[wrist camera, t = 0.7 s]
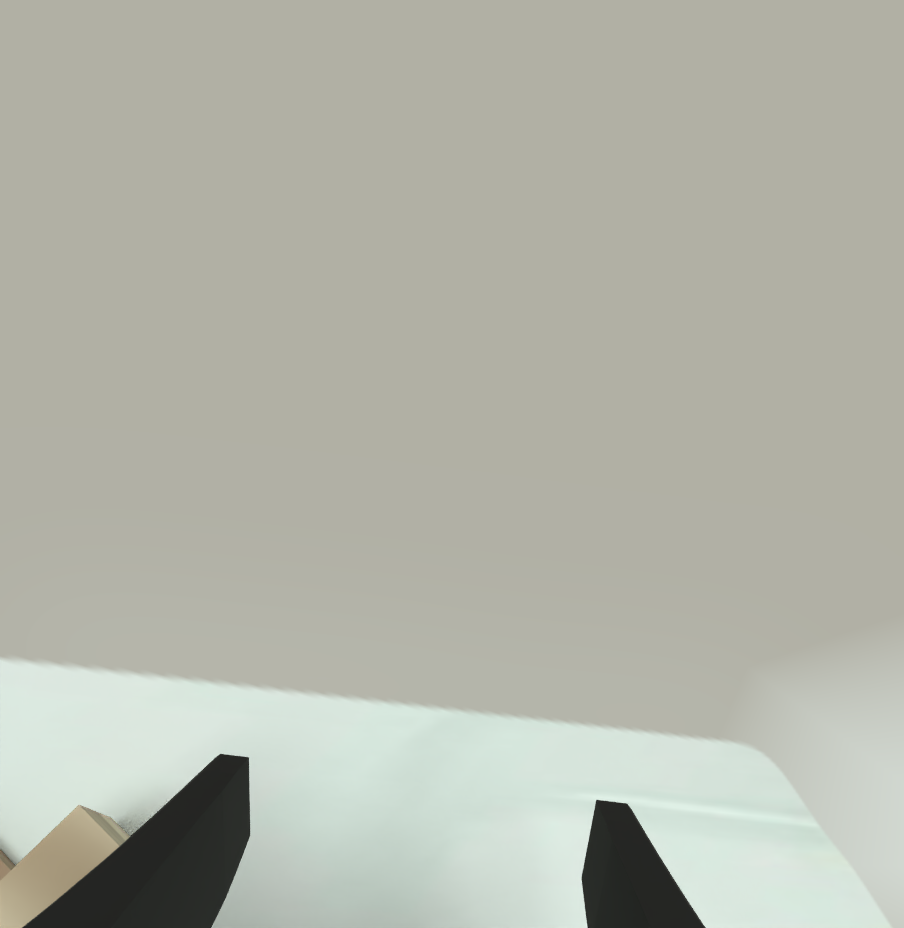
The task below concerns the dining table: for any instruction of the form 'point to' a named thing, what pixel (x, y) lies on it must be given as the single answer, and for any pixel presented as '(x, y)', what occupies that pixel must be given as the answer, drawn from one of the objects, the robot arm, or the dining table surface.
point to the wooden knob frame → (57, 864)
